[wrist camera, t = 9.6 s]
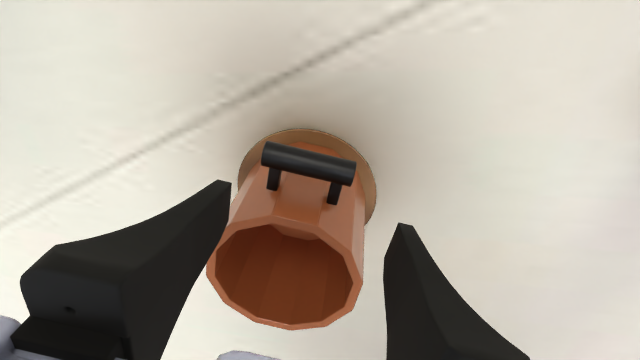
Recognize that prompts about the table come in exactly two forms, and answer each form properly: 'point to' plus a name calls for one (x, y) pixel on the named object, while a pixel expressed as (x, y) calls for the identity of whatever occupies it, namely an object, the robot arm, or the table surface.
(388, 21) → the table surface
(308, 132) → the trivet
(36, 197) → the table surface
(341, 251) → the pot
